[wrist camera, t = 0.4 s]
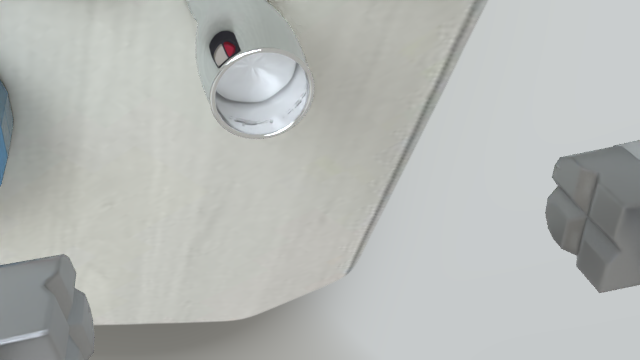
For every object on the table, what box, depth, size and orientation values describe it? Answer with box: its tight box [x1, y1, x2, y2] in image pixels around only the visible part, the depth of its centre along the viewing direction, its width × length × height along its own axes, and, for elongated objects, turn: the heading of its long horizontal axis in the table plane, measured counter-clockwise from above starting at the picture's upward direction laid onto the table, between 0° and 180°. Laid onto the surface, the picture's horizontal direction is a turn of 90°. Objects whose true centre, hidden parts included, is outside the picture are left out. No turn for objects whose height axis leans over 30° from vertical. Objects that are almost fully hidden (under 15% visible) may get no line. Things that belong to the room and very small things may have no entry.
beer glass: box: [187, 0, 314, 139], centre depth 42 cm, size 7×7×15 cm
